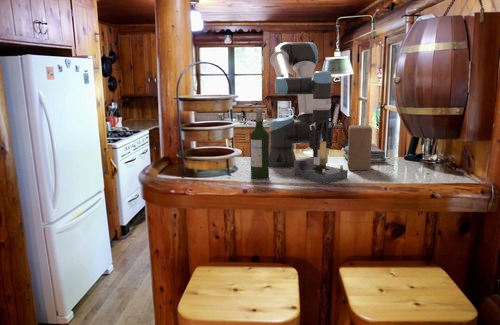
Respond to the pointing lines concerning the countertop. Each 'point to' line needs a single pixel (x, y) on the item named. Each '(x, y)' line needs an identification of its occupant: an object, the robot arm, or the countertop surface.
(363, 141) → the wooden block
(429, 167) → the countertop surface
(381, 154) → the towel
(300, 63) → the robot arm
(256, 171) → the wine bottle
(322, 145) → the brass cylinder
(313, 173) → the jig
